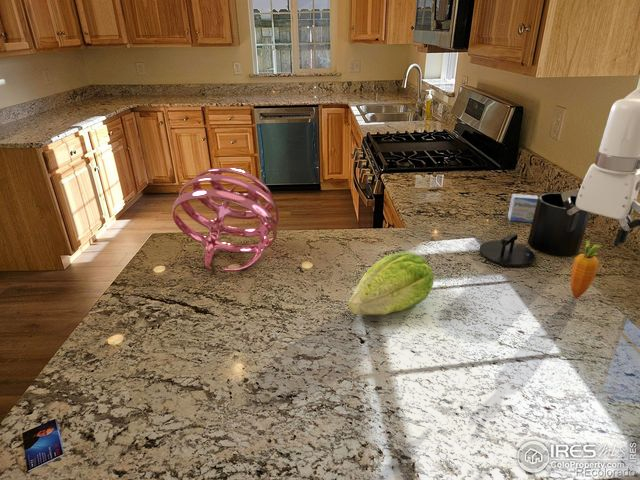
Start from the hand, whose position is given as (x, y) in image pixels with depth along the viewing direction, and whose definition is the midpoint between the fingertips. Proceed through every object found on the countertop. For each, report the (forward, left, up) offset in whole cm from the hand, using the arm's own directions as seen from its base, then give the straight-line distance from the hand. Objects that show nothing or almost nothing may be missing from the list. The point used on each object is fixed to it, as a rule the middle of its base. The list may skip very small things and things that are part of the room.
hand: (593, 237), depth 95 cm
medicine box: (+32, -36, -17) cm, 51 cm away
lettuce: (+27, +37, -17) cm, 48 cm away
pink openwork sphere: (+71, +52, -17) cm, 90 cm away
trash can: (+16, -24, -16) cm, 33 cm away
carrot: (0, 0, -17) cm, 17 cm away
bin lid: (+22, -8, -16) cm, 28 cm away
